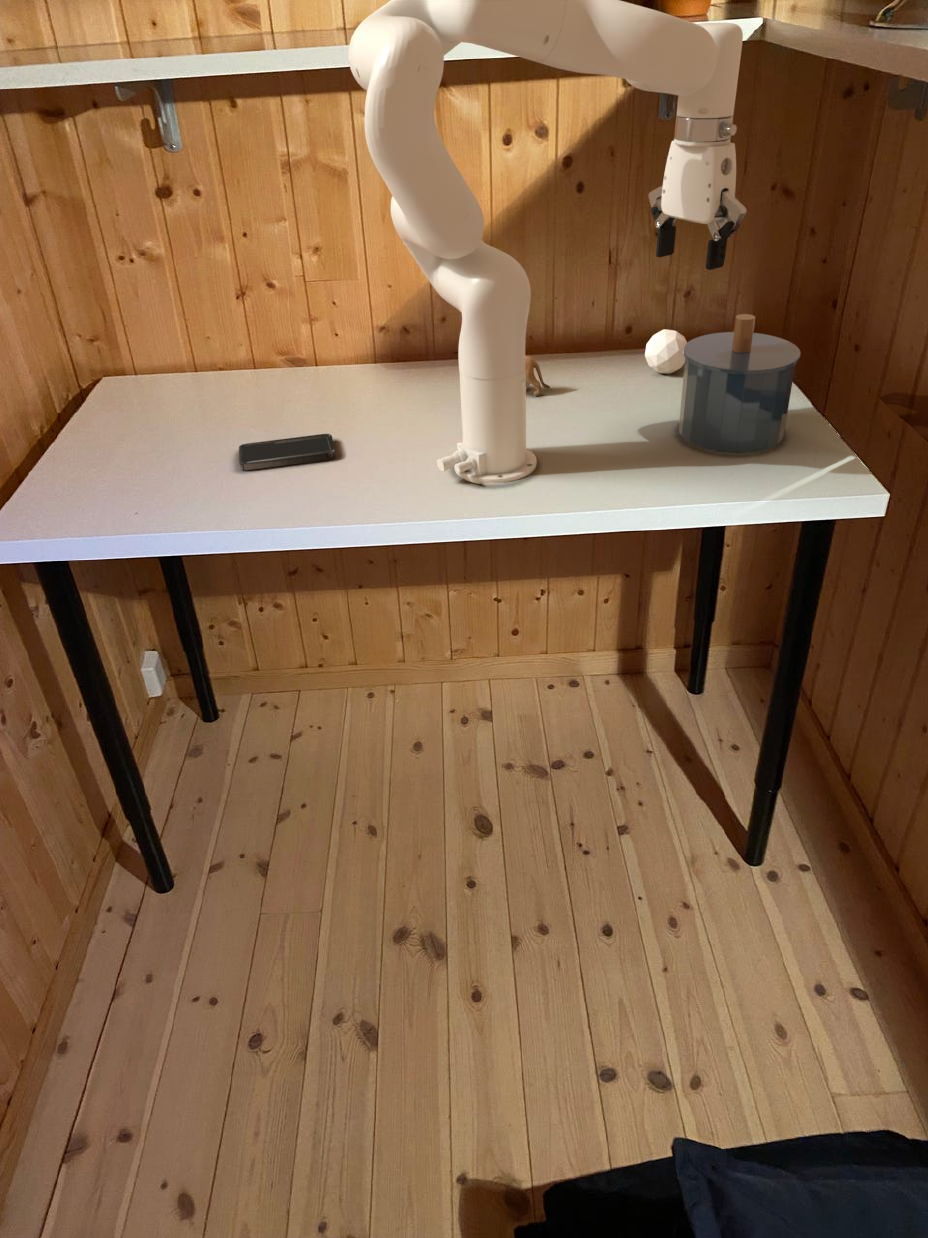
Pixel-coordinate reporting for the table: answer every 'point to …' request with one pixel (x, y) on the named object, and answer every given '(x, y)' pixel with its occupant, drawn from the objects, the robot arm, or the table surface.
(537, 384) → the lion figurine
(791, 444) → the table surface
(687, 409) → the dark blue cylindrical pot
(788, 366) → the lid
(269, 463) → the phone
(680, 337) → the geometric ball
